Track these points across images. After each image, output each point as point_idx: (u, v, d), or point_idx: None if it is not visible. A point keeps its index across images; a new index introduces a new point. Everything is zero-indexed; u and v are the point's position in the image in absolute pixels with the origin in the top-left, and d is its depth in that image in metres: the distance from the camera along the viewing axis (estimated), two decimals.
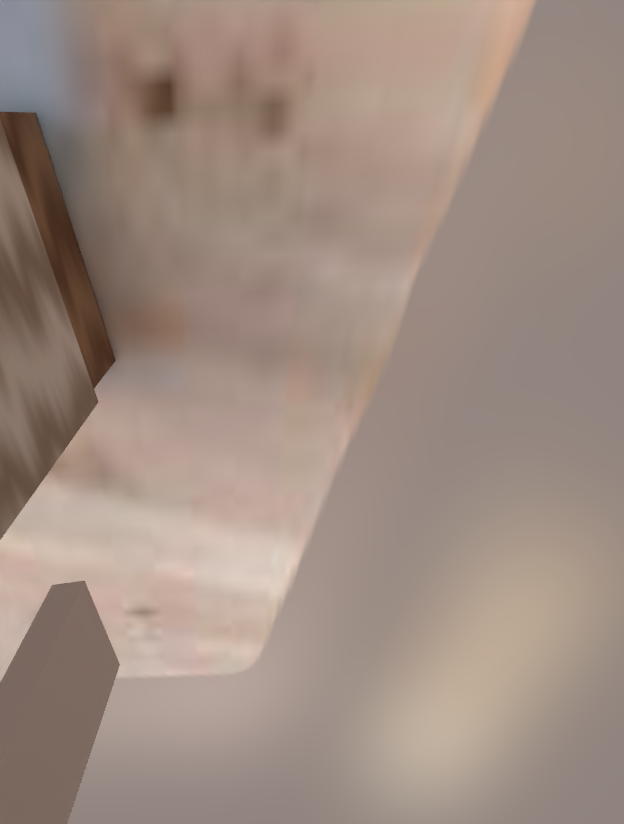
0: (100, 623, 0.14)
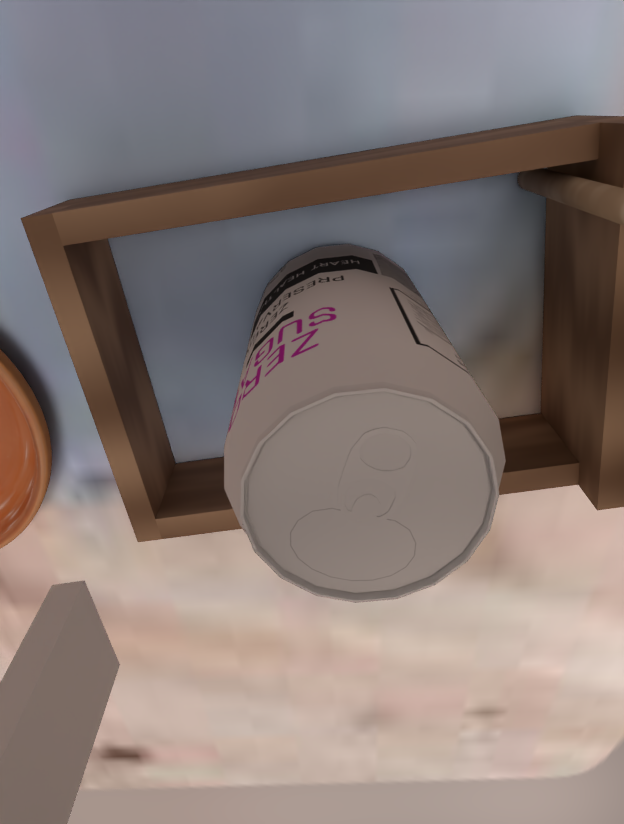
0: (100, 623, 0.14)
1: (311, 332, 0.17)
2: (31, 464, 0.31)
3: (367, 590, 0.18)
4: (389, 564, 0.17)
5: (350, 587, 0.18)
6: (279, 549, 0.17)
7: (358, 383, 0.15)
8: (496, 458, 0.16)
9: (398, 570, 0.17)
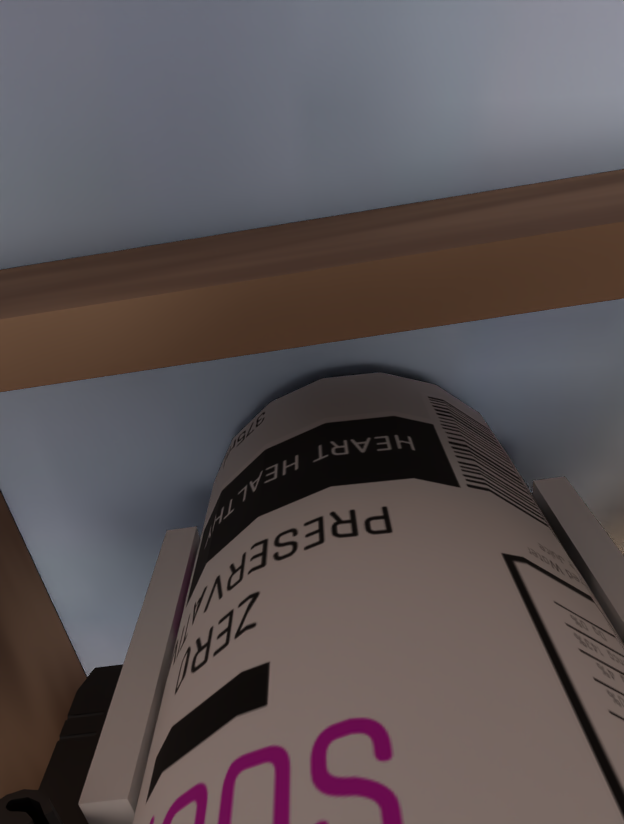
0: None
1: None
2: None
3: None
4: None
5: None
6: None
7: None
8: None
9: None
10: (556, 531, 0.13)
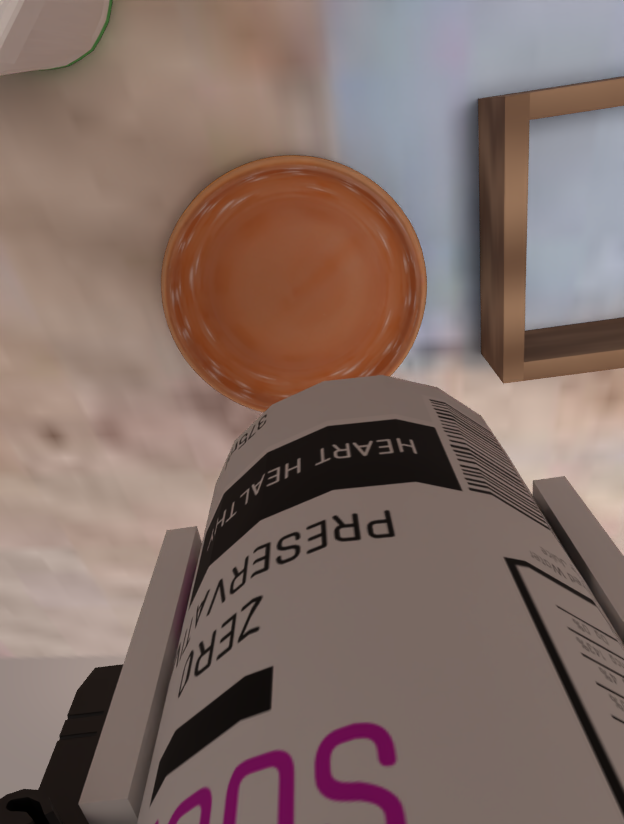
0: None
1: None
2: (391, 329, 0.38)
3: None
4: None
5: None
6: None
7: None
8: None
9: None
10: (556, 531, 0.13)
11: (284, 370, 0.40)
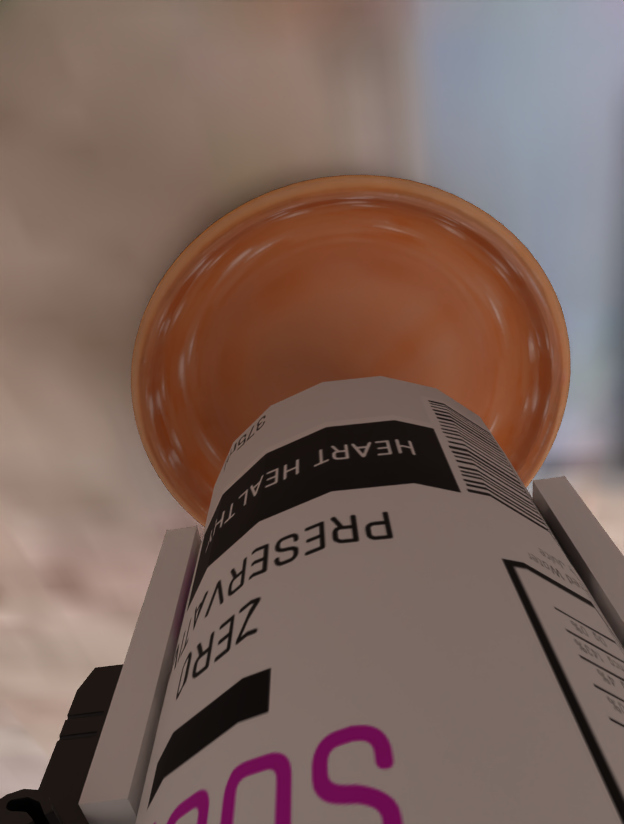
0: None
1: None
2: (499, 444, 0.24)
3: None
4: None
5: None
6: None
7: None
8: None
9: None
10: (556, 531, 0.13)
11: None
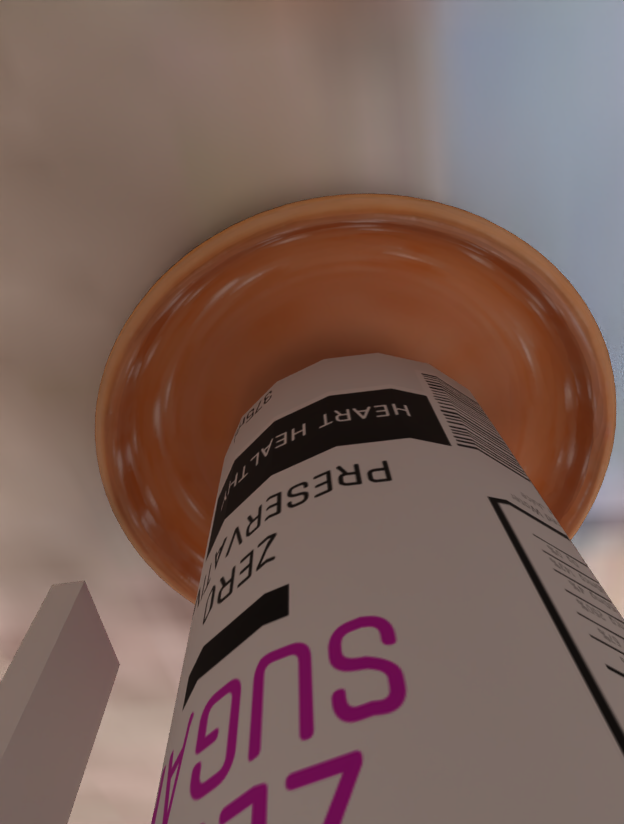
0: (100, 623, 0.14)
1: (342, 768, 0.06)
2: None
3: None
4: None
5: None
6: None
7: None
8: None
9: None
10: None
11: None
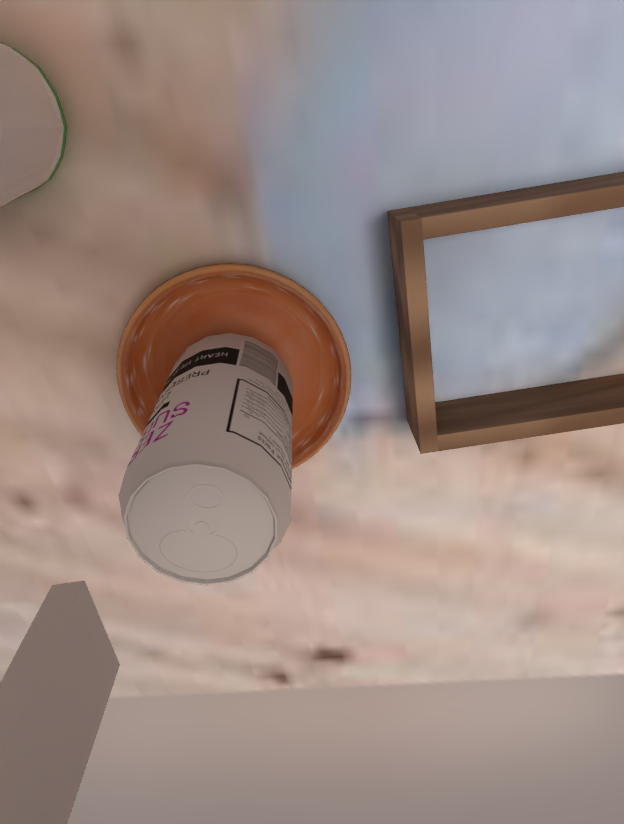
0: (100, 623, 0.14)
1: (169, 423, 0.28)
2: (324, 404, 0.43)
3: (212, 577, 0.29)
4: (223, 561, 0.28)
5: (202, 576, 0.29)
6: (155, 555, 0.28)
7: (183, 460, 0.26)
8: (277, 496, 0.27)
9: (228, 565, 0.28)
10: None
11: None
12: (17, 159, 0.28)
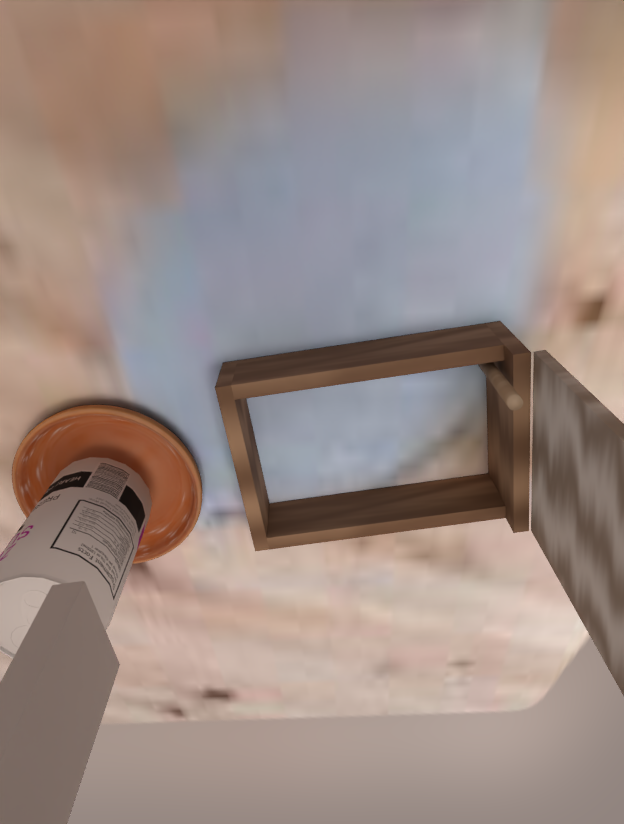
0: (100, 623, 0.14)
1: (13, 545, 0.38)
2: (186, 505, 0.53)
3: None
4: None
5: None
6: (9, 646, 0.38)
7: (14, 575, 0.36)
8: (92, 592, 0.37)
9: None
10: None
11: None
12: None
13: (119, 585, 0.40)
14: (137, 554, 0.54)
